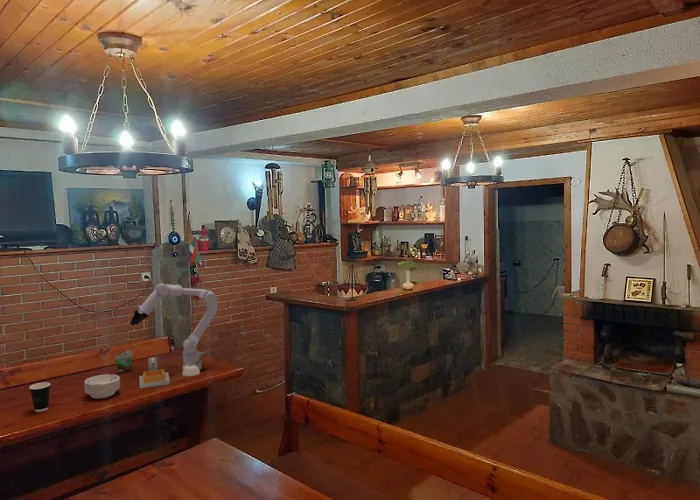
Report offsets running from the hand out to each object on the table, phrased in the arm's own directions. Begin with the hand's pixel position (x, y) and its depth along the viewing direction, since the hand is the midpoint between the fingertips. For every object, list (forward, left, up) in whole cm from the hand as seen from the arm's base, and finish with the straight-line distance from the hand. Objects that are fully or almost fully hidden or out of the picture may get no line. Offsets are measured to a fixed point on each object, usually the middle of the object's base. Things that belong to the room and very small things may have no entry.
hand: (133, 324), depth 265 cm
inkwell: (-31, +7, -28) cm, 42 cm away
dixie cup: (+38, +32, -28) cm, 57 cm away
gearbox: (-9, +15, -27) cm, 33 cm away
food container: (+4, -12, -28) cm, 30 cm away
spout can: (-9, 0, -27) cm, 29 cm away
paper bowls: (+14, +24, -28) cm, 40 cm away
